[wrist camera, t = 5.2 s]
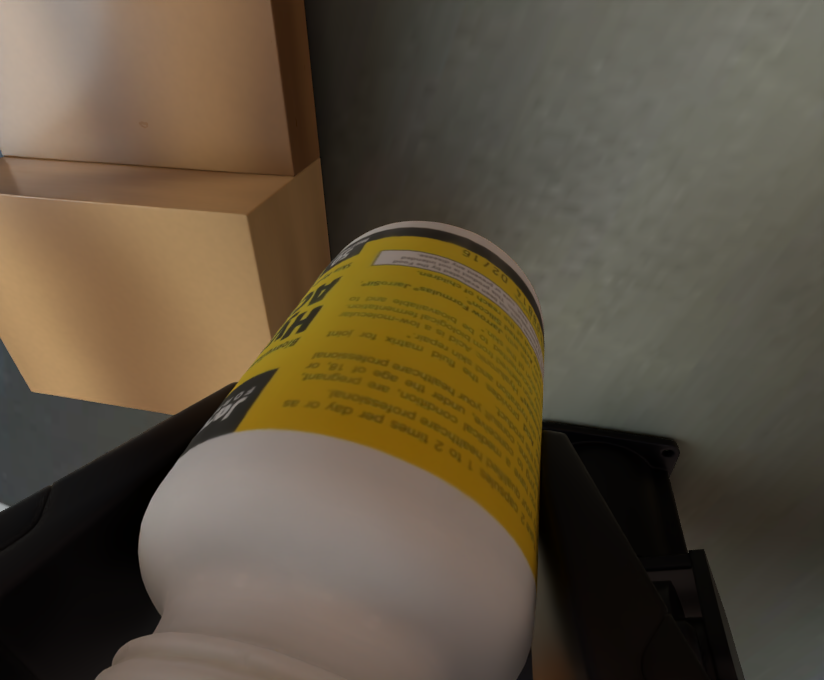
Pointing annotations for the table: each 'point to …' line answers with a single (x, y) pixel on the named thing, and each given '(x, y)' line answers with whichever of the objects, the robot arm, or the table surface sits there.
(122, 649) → the supplement bottle
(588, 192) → the table surface
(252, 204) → the shelf riser
